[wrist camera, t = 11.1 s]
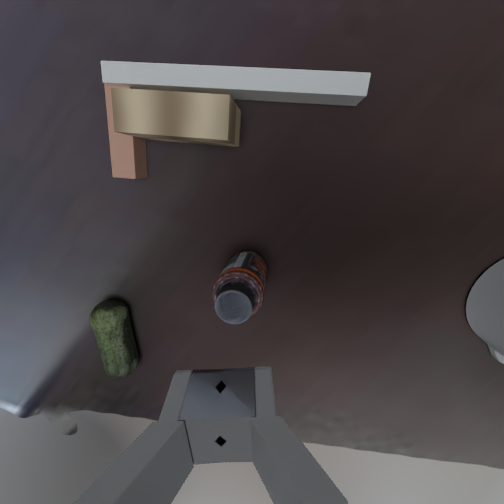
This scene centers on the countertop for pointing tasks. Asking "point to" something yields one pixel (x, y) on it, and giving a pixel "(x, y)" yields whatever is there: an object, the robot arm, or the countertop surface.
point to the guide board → (220, 82)
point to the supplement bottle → (240, 287)
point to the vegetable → (115, 338)
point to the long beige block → (176, 116)
